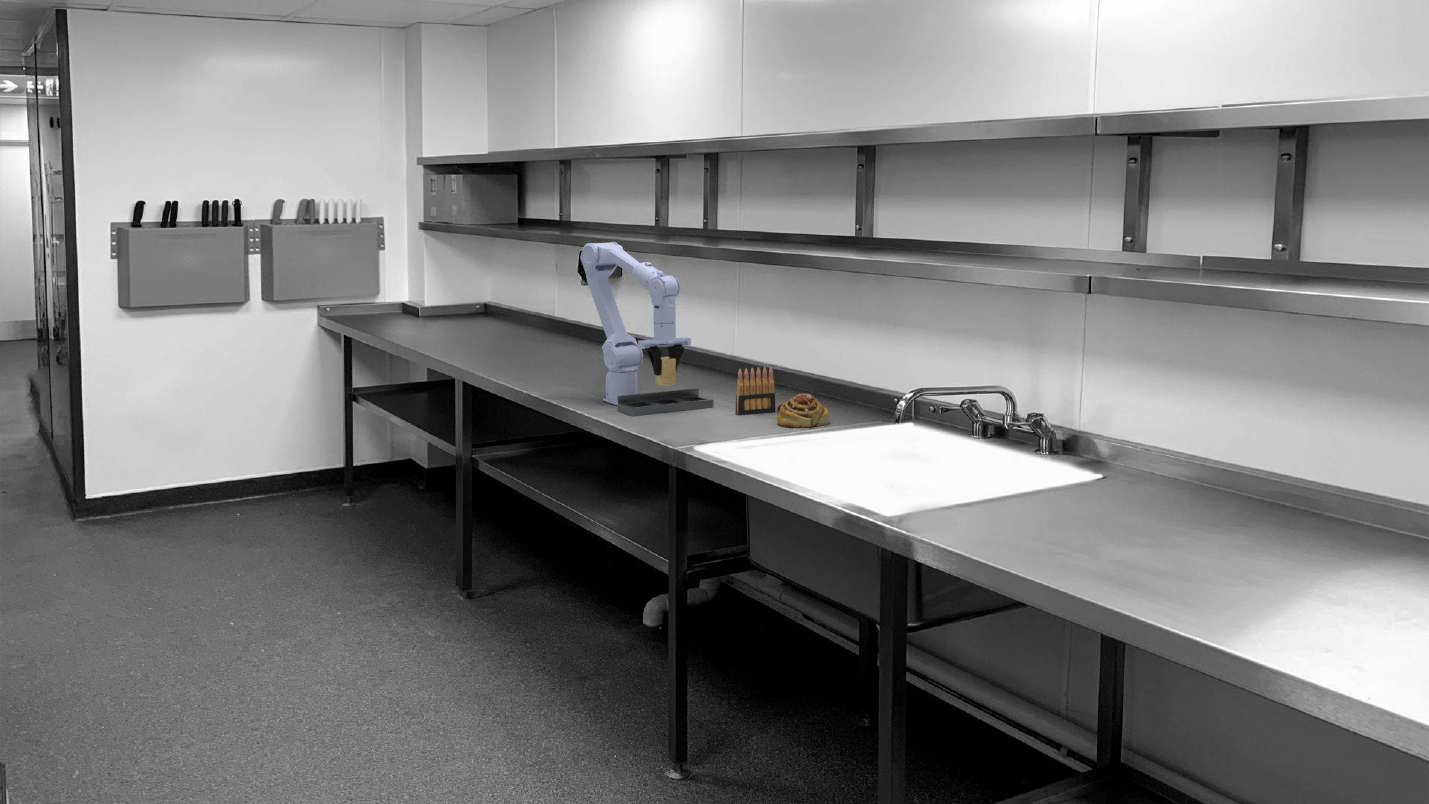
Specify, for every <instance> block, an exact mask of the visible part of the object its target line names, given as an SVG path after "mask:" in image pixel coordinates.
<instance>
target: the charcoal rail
mask: <svg viewBox="0 0 1429 804" xmlns="http://www.w3.org/2000/svg"><path fill="white" fill-rule="evenodd" d="M617 398H618V405H617V411H618V412H620V413H623V414H626V415H628V416H631V417H635V416H636V417H637V416H646V415H655V414H665V413H673V412H674V413H675V412H680V411H684V412H685V411H692V410H701V409H710V408H714V407H715V406H714V404H715V403H714V399H712V398H708V397H704V396H702V395H699V387H694V388H684V389H683V388H682V389H674V390H665V391H664V390H663V391H654V392H644V393H642V392H641V393H637V394H632V395H622V396H617Z"/></svg>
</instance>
